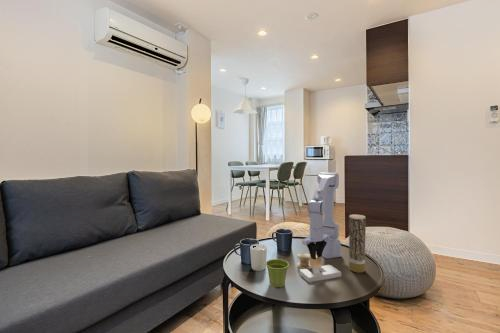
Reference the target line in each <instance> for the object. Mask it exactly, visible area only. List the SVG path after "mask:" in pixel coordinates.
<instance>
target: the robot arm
mask: <svg viewBox="0 0 500 333" xmlns="http://www.w3.org/2000/svg"><path fill="white" fill-rule="evenodd" d="M339 181H340V175H339V173H338V172H324V171H322V172H321V171H319V172H318V174H317V183H318V189H316V190H314V194H313V196H312V199H311V200H309V201H308V203H307V213H308V217H309V235H308V236H307V237H306V238H304V239H302V242H301V243H302V245H304V246H306V247H307V249H308V252H309V254H310V256H311V258H312V259H314V260H315V259H316V254H318V255H320V256H322V258H324V259H334V258H340V257H342V256H343V255H342V252H341V251H342V245H341V244H342V243H341V239H339V237H340V229H339V228H340V226H339V223H337V222H336V221H335V220H334V212H335V211H334V210H335V208H334V207H335V206H334V205H335V191H336V189H338V188H339V187H340V186H339V183H340V182H339Z"/></svg>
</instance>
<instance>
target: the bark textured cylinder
mask: <svg viewBox="0 0 500 333" xmlns="http://www.w3.org/2000/svg"><path fill="white" fill-rule="evenodd" d="M366 220H367V219H366V216H365V215H363V214H349V222H348V223H349V228H348V229H349V232H348V233H349V235H348V237H349V238H348V260H349V261H348V268H349V271H352V272H353V273H359V274H361V273H364V272H365V270H366V222H367V221H366Z"/></svg>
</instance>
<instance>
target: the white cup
mask: <svg viewBox="0 0 500 333" xmlns="http://www.w3.org/2000/svg"><path fill="white" fill-rule="evenodd" d="M253 246H256V247H254V248H253ZM249 249H250V250H249V251H250V264H251V265H250V266H251V269H252V270H253V271H257V272H260V271H265V270H266V269H267V266H266V262H267V258H268V257H267V256H268V255H267V253H268V251H267V250H268V246H267V245H266V244H261V243H256V244H251V245H250V247H249Z"/></svg>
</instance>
